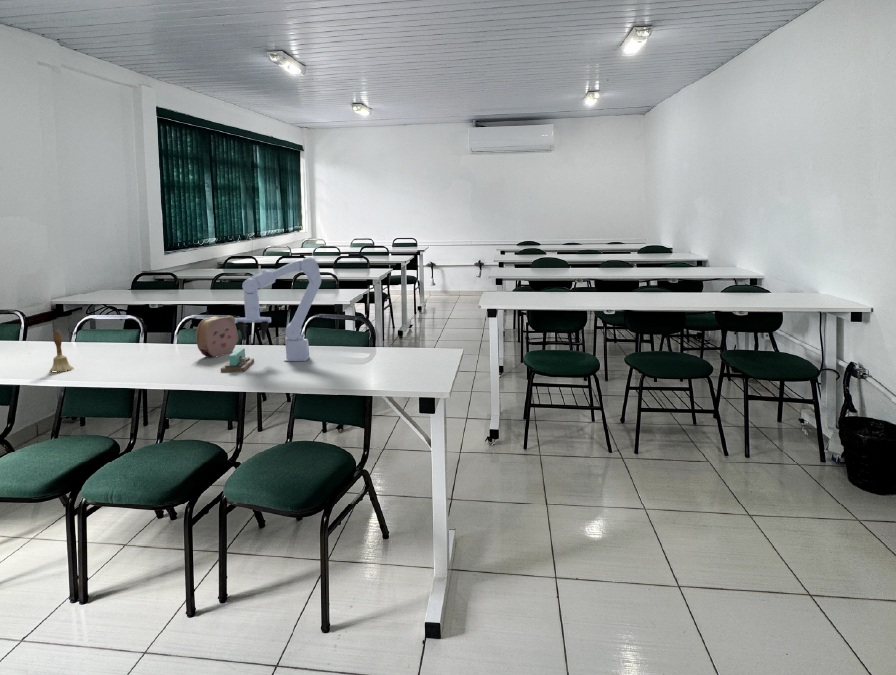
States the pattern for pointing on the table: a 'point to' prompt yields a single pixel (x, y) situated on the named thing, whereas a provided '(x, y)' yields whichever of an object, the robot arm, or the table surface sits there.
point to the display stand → (238, 365)
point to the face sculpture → (216, 335)
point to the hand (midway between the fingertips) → (254, 339)
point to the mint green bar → (236, 356)
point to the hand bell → (59, 356)
